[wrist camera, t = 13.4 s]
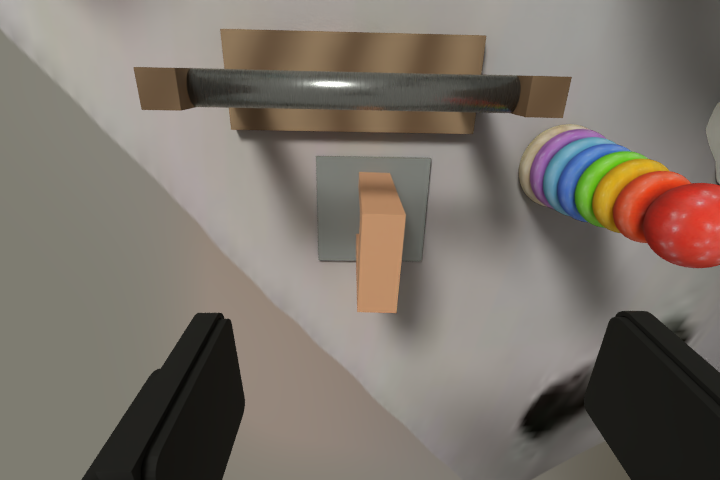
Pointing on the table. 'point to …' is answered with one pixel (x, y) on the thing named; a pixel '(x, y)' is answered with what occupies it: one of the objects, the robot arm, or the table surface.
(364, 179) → the tall peach block
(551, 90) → the rack
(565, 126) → the stacking toy
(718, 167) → the figurine
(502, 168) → the table surface
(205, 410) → the robot arm
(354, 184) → the mat
